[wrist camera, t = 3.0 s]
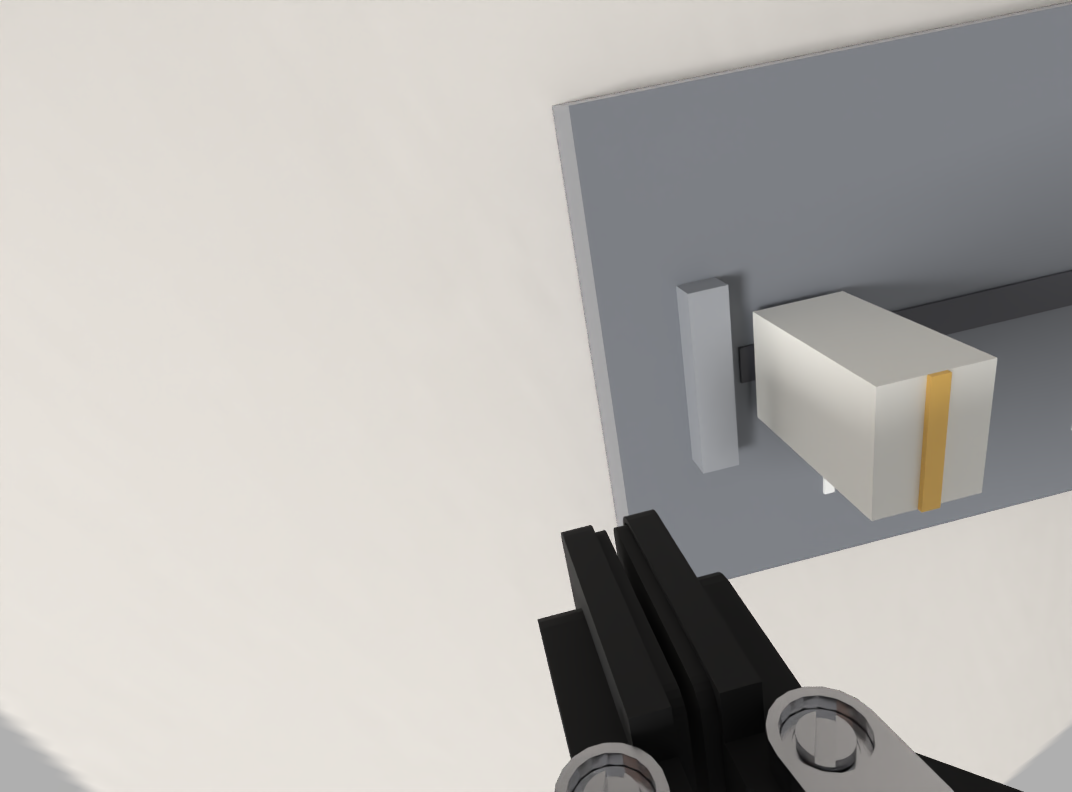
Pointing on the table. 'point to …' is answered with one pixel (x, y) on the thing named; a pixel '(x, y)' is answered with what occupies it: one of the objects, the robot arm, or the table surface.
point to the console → (823, 265)
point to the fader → (875, 401)
